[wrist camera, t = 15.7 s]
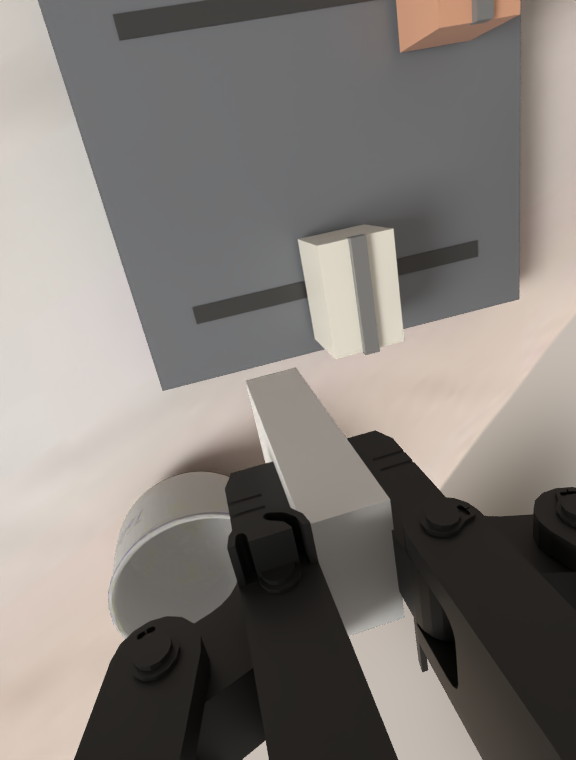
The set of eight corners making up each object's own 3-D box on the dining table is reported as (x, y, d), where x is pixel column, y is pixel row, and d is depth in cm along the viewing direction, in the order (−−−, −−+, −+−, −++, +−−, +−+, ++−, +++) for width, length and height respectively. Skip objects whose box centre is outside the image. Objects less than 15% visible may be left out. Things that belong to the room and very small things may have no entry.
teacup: (111, 461, 33) (93, 536, 26) (266, 442, 35) (290, 506, 28) (137, 614, 38) (128, 713, 31) (271, 589, 40) (293, 676, 33)
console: (33, -42, 23) (13, -75, 20) (485, -102, 26) (522, -138, 23) (163, 374, 32) (162, 391, 29) (492, 291, 35) (520, 299, 32)
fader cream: (297, 238, 27) (319, 245, 23) (364, 223, 28) (396, 227, 23) (314, 339, 29) (337, 362, 25) (375, 324, 30) (407, 344, 26)
